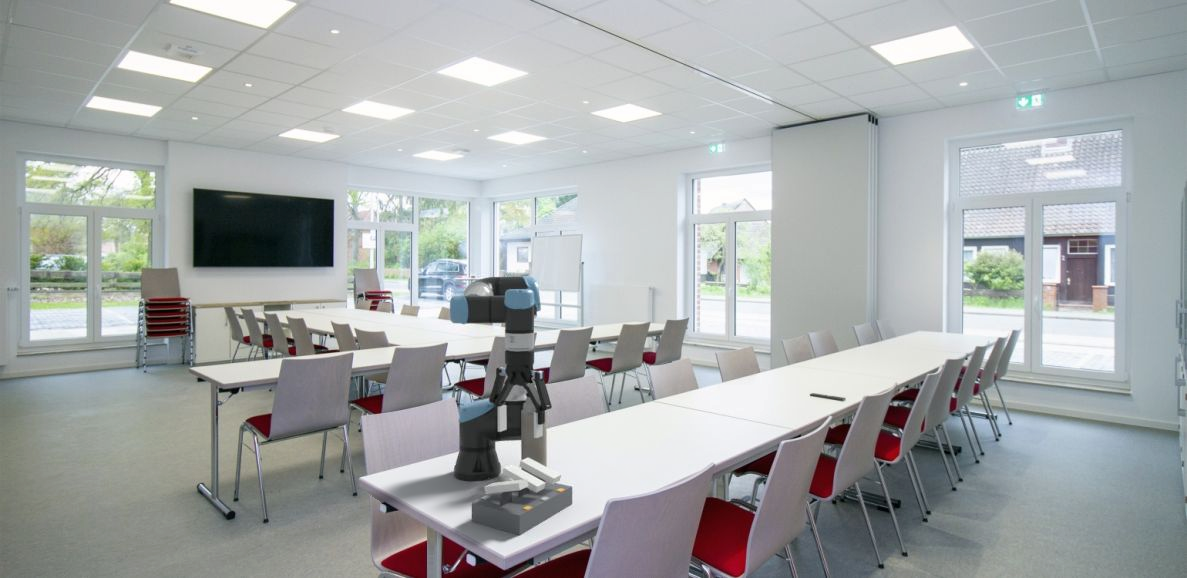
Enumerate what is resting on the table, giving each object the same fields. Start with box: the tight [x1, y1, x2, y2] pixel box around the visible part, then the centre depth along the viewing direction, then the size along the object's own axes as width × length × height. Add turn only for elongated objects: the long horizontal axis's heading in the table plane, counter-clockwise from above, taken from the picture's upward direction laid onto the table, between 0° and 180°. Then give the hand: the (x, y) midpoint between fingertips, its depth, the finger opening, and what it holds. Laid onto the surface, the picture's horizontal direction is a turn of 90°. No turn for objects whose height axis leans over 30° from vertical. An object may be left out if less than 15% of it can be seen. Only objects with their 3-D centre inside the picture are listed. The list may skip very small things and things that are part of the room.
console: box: [471, 476, 573, 536], centre depth 166 cm, size 16×24×8 cm, turn 149°
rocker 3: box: [518, 458, 562, 484], centre depth 172 cm, size 12×4×2 cm, turn 59°
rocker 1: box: [483, 479, 529, 495], centre depth 159 cm, size 12×4×2 cm, turn 58°
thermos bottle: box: [520, 393, 548, 477], centre depth 191 cm, size 8×8×28 cm
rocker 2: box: [501, 463, 545, 493], centre depth 166 cm, size 12×4×2 cm, turn 59°
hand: (519, 433), depth 157 cm, fingers open, 11 cm apart
